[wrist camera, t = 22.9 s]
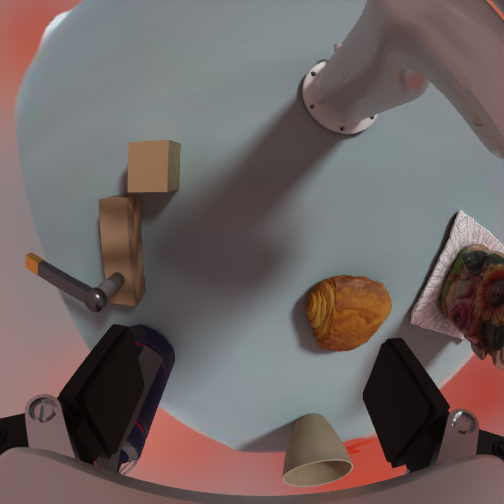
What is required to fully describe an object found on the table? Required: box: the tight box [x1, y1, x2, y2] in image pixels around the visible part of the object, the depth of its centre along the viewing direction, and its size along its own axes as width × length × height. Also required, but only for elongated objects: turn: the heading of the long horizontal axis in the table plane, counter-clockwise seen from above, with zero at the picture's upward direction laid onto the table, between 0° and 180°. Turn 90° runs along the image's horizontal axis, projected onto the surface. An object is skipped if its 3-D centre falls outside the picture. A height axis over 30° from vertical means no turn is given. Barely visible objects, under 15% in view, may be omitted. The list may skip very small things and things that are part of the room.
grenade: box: [96, 325, 175, 475], centre depth 34 cm, size 14×12×30 cm
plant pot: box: [283, 414, 353, 487], centre depth 48 cm, size 15×15×16 cm
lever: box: [26, 253, 107, 312], centre depth 31 cm, size 16×3×2 cm, turn 67°
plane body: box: [97, 196, 146, 306], centre depth 37 cm, size 17×5×11 cm, turn 177°
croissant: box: [306, 275, 392, 352], centre depth 43 cm, size 14×16×8 cm
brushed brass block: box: [128, 140, 181, 192], centre depth 36 cm, size 7×6×6 cm
